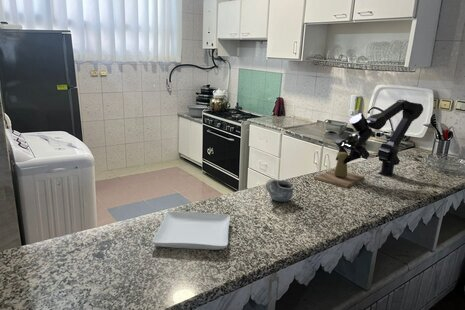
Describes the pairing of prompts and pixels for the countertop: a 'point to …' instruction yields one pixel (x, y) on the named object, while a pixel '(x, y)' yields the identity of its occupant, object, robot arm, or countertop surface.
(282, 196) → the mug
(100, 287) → the countertop surface
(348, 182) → the walnut board
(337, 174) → the cork
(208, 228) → the salad plate
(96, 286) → the countertop surface
